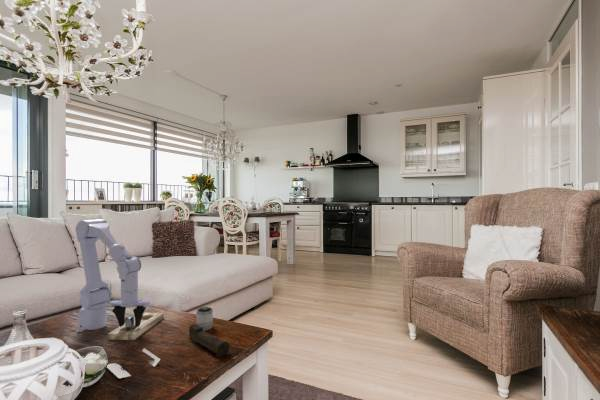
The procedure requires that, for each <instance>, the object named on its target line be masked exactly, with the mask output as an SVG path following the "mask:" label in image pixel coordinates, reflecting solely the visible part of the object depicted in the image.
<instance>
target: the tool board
mask: <svg viewBox="0 0 600 400" xmlns="http://www.w3.org/2000/svg"><path fill="white" fill-rule="evenodd" d="M164 313H165V312H164ZM164 313H163V312H144V313H143V315H142V318H141V323H140V325H139V326H138V327H135V316H134V330H133V331H125V324H124V325H123V326H121V327H120V326H118V327H116V328H115V329H113V330H112V331H110V332H108V333H107V340H112V341H113V340H114V341H115V340H117V341H118V340H121V341H122V340H124V341H129V340H131V341H134V340H136V339H137V338H139V337H140V336H141V335H143V334H145V332H147V331H148V330H149V329H151V328H152V327H154V326H155V325H156V324H157V323H158V322H160V321H162V320H163V319H164V318H165V317H164V315H165V314H164Z"/></svg>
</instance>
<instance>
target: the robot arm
mask: <svg viewBox="0 0 600 400" xmlns="http://www.w3.org/2000/svg"><path fill="white" fill-rule="evenodd" d="M75 233H76V239H77V242H78V243H79V247H80V253H81V259H82V265H83V271H84V278H85V283H86V284H85V285H84V286H83V287H82V288H81V289H80V290H79V292H80V293H79V294H80V296H79V303H80V305H81V308H80V309H79V311H78V314H77V330H76V332H77V333H82V332H83V331H85V330H89V331H90V330H91V331H92V330H94V331H95V330H99V329H102V328H104V327H106V326H107V325H108V324H107V323H108V320H107V319H108V312H107V311H108V310H107V307H108V305H109V308H113V309H112V310H111V311H112V313H113V314H114V316H115V318H116V319H117V323H118V325H119V326H120V327H121V326H123V325H124V324H125V318H126V316H125V315H126V309H127V308H129V307H130V308H133V309H132V311H133V316H134V317H135V327H138V326H139V325H140V323H141V318H142V315H143V313H145V310H146V309H147V308H148V307H150V300H144V299H139V280H138V279H139V278H138V277H139V275H138V274H139V271H140V270H141V268H142V263H141V260H140V258H139V257H138V256H134V255H131V253H130V252H129V250H128V249H127V248H126V247H125V245H123V244H122V243H118V242H117V240H116V238H115V237H114V235H113V234H112V232H111V231H110V223H108V221H107V220H106V219H104V218H100V219H81V220H79V221H78V222H77V224H76V226H75ZM98 240H100V241H101V242H102V243H103V244H104V246H106V248H108V249H109V250H108V255H109V256H110V257H111V259H112V260H113V262H114V263H115V264H116V265H117V266H116V271H117V273H118V278H119V280H120V300H112V297H113V296H112V293H113V292H112V291H111V289H110V287H109V283H107V282H106V281H103V280H102V275H101V269H100V268H101V267H100V263H99V258H98V252H97V251H98V250H97V247H96V243H97V241H98ZM111 300H112V301H111ZM134 307H135V308H134ZM119 326H118V327H119Z"/></svg>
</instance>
